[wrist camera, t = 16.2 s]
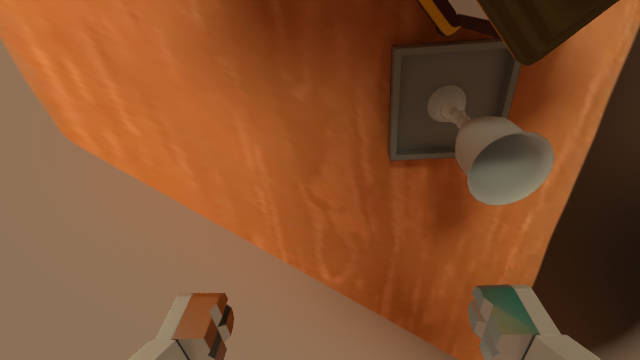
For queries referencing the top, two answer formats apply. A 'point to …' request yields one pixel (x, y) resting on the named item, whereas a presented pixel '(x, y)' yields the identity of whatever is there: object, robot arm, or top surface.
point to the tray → (435, 72)
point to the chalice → (493, 151)
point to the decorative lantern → (517, 21)
